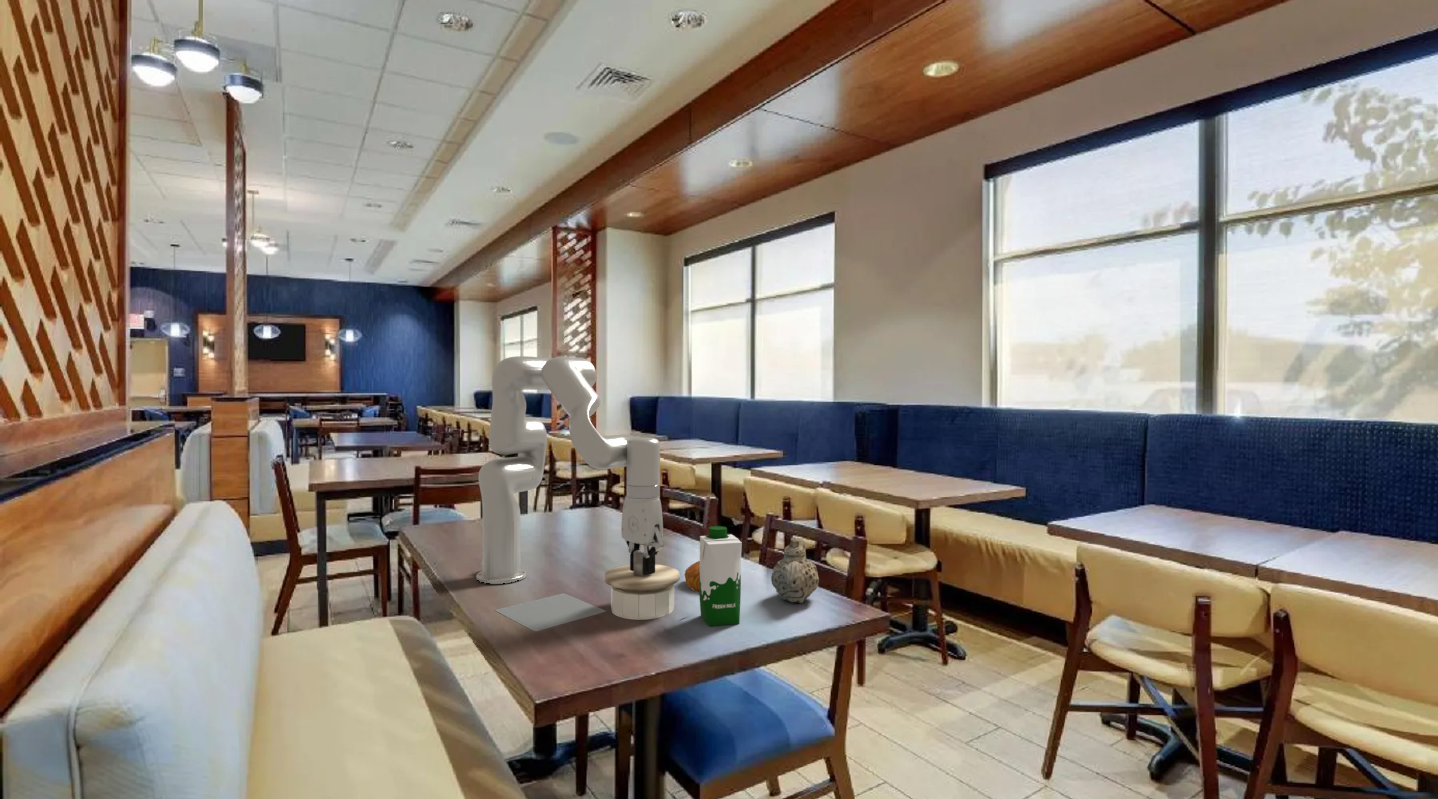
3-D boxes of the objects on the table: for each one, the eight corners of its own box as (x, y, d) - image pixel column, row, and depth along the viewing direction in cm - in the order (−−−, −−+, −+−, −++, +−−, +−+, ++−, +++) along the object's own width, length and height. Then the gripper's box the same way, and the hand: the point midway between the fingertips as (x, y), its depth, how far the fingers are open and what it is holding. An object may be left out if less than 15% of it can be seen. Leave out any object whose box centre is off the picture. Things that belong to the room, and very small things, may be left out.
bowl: (599, 610, 156) (599, 584, 155) (647, 597, 165) (647, 572, 165) (637, 626, 146) (637, 599, 145) (685, 611, 155) (686, 585, 155)
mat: (494, 612, 154) (494, 610, 154) (563, 595, 166) (563, 593, 166) (534, 634, 141) (535, 631, 141) (606, 613, 153) (606, 611, 153)
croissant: (741, 586, 183) (743, 556, 184) (737, 596, 167) (738, 563, 168) (688, 582, 184) (690, 552, 185) (679, 592, 169) (680, 559, 170)
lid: (589, 577, 155) (589, 551, 155) (648, 564, 167) (648, 539, 167) (635, 595, 143) (635, 566, 143) (694, 579, 155) (695, 552, 155)
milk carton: (733, 611, 156) (733, 524, 155) (744, 625, 147) (745, 533, 147) (695, 614, 154) (696, 526, 153) (705, 628, 145) (706, 535, 144)
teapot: (816, 615, 154) (817, 549, 154) (765, 611, 156) (766, 546, 156) (821, 587, 175) (822, 529, 174) (776, 584, 177) (777, 526, 177)
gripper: (608, 489, 158) (607, 567, 159) (653, 498, 146) (652, 583, 147) (633, 486, 163) (633, 561, 164) (679, 494, 152) (679, 576, 152)
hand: (642, 571), depth 155 cm, fingers closed on lid, 3 cm apart
